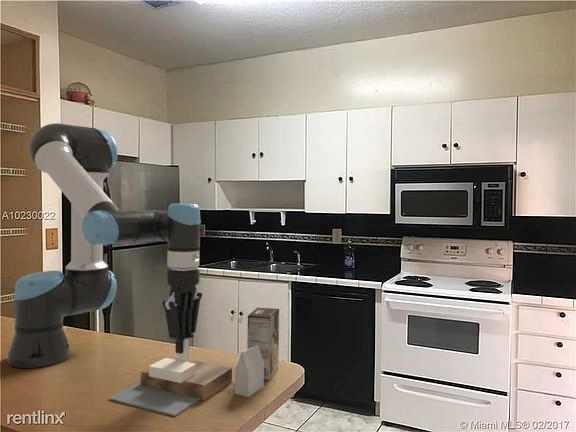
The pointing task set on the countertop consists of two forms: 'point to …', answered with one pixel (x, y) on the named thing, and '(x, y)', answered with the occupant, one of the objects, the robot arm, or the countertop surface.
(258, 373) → the tea bag
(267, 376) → the coffee box
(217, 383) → the brown flat block
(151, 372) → the tile
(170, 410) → the mat
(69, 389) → the countertop surface
